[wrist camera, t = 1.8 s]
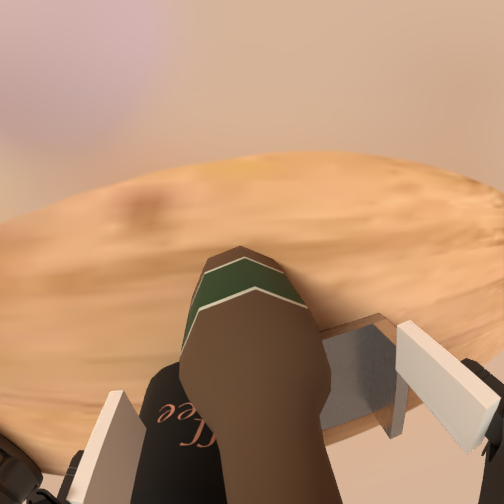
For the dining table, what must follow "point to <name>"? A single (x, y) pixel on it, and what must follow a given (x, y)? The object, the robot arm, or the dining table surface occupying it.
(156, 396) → the coffee jar
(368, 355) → the bracket
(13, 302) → the dining table surface
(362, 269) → the dining table surface
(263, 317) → the beer bottle
